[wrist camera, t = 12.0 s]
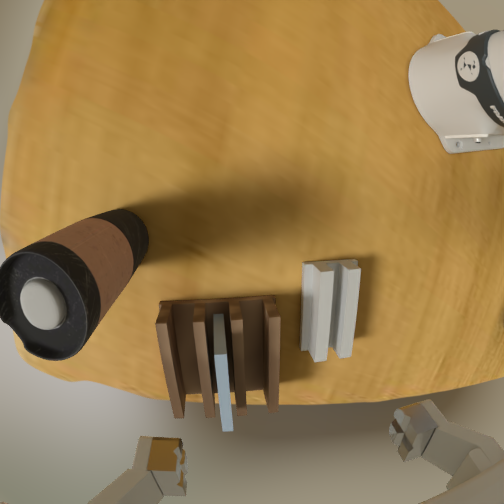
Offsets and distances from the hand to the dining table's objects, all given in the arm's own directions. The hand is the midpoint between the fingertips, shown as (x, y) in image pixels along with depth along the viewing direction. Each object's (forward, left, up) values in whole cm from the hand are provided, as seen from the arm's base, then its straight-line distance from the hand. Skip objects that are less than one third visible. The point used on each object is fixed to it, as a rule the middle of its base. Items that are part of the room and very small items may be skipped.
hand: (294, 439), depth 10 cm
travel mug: (+14, -2, -28) cm, 31 cm away
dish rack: (+3, +13, -28) cm, 31 cm away
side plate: (+3, +13, -27) cm, 30 cm away
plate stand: (-11, +8, -28) cm, 31 cm away
